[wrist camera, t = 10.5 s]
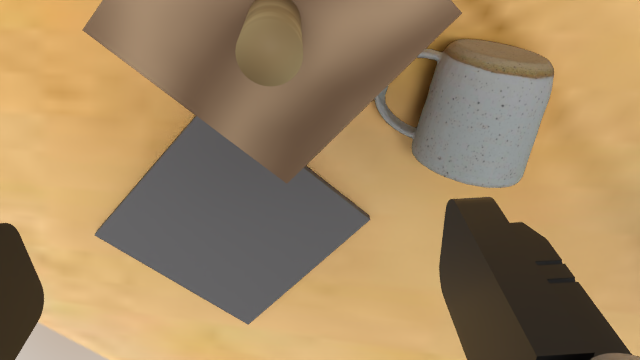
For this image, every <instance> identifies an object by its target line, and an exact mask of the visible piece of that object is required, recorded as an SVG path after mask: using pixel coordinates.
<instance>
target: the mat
mask: <svg viewBox="0 0 640 360" xmlns="http://www.w3.org/2000/svg"><path fill="white" fill-rule="evenodd" d="M369 220H370V217H369V215H368V214H367V213H365V212H364V211H363V210H361V209H360V208H359V207H358V206H356V205H355V204H354V203H353V202H351V201H350V200H349V199H347V198H346V197H345V196H344V195H342V194H341V193H340V192H339V191H337V190H336V189H335V188H333V187H332V186H331V185H330V184H328V183H327V182H326V181H324V180H323V179H322V178H321V177H319V176H318V175H317V174H316V173H314V172H313V171H312V170H310V169H309V168H308V167H307V166H305V167H304V168H303V169H302V170H301V171H300V172H299V173H298V174H297V175H296V176H295V177H294V178H292V179H291V180H290V181H289V182H288V183H287V184H286V183H285V182H284V181H282V180H281V179H280V178H278V177H277V176H276V175H274V174H273V173H272V172H271V171H269V170H268V169H267V168H265V167H264V166H263V165H261V164H260V163H259V162H257V161H256V160H255V159H253V158H252V157H251V156H249V155H248V154H247V153H245V152H244V151H243V150H241V149H240V148H239V147H237V146H236V145H235V144H233V143H232V142H231V141H229V140H228V139H227V138H225V137H224V136H223V135H221V134H220V133H219V132H217V131H216V130H215V129H213V128H212V127H211V126H209V125H208V124H207V123H205V122H204V121H203V120H201V119H200V118H199V117H197V116H195V117H194V118H193V120H192V121H191V122H190V123H189V124H188V125H187V127H186V128H185V129H184V130H183V131H182V132H181V134H180V135H179V136H178V137H177V138H176V139H175V141H174V142H173V143H172V144H171V145H170V146H169V148H168V149H167V150H166V151H165V152H164V153H163V155H162V156H161V157H160V158H159V159H158V160H157V161H156V163H155V164H154V165H153V166H152V167H151V168H150V170H149V171H148V172H147V173H146V174H145V175H144V177H143V178H142V179H141V180H140V181H139V182H138V184H137V185H136V186H135V187H134V188H133V189H132V191H131V192H130V193H129V194H128V195H127V196H126V198H125V199H124V200H123V201H122V202H121V203H120V205H119V206H118V207H117V208H116V209H115V210H114V212H113V213H112V214H111V215H110V216H109V217H108V219H107V220H106V221H105V222H104V223H103V224H102V226H101V227H100V228H99V229H98V230H97V232H96V233H95V236H97V237H99V238H100V239H102V240H104V241H105V242H107V243H109V244H111V245H112V246H114V247H116V248H117V249H119V250H121V251H123V252H124V253H126V254H128V255H129V256H131V257H133V258H135V259H136V260H138V261H140V262H142V263H143V264H145V265H147V266H148V267H150V268H152V269H154V270H155V271H157V272H159V273H160V274H162V275H164V276H166V277H167V278H169V279H171V280H172V281H174V282H176V283H178V284H179V285H181V286H183V287H185V288H186V289H188V290H190V291H191V292H193V293H195V294H197V295H198V296H200V297H202V298H203V299H205V300H207V301H209V302H210V303H212V304H214V305H215V306H217V307H219V308H221V309H222V310H224V311H226V312H228V313H229V314H231V315H233V316H234V317H236V318H238V319H240V320H241V321H243V322H245V323H246V324H250V323H251V322H252V321H253V320H254V319H255V318H256V317H258V316H259V315H260V314H261V313H262V312H263V311H265V310H266V309H267V308H268V307H269V306H270V305H272V304H273V303H274V302H275V301H276V300H277V299H279V298H280V297H281V296H282V295H283V294H284V293H285V292H287V291H288V290H289V289H290V288H291V287H292V286H294V285H295V284H296V283H297V282H298V281H299V280H301V279H302V278H303V277H304V276H305V275H306V274H308V273H309V272H310V271H311V270H312V269H313V268H315V267H316V266H317V265H318V264H319V263H320V262H321V261H323V260H324V259H325V258H326V257H327V256H328V255H330V254H331V253H332V252H333V251H334V250H335V249H337V248H338V247H339V246H340V245H341V244H342V243H344V242H345V241H346V240H347V239H348V238H349V237H350V236H352V235H353V234H354V233H355V232H356V231H357V230H359V229H360V228H361V227H362V226H363V225H364V224H366V223H367V222H368V221H369Z"/></svg>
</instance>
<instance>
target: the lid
mask: <svg viewBox="0 0 640 360" xmlns="http://www.w3.org/2000/svg"><path fill="white" fill-rule="evenodd" d="M461 14H462V12H461V11H460V10H459V9H458V8H457V7H456V6H455V4H454V3H453V2H452V1H451V0H103V1H102V2H101V4H100V5H99V7H98V8H97V9H96V11H95V12H94V14H93V15H92V17H91V18H90V20H89V21H88V23H87V24H86V26H85V27H84V28H83V31H84V32H86V33H87V34H88V35H90V36H91V37H92V38H94V39H95V40H96V41H98V42H99V43H100V44H102V45H103V46H104V47H106V48H107V49H108V50H110V51H111V52H112V53H114V54H115V55H116V56H118V57H119V58H120V59H122V60H123V61H124V62H126V63H127V64H128V65H130V66H131V67H132V68H133V69H135V70H136V71H137V72H139V73H140V74H141V75H143V76H144V77H145V78H147V79H148V80H149V81H151V82H152V83H153V84H155V85H156V86H157V87H159V88H160V89H161V90H163V91H164V92H165V93H167V94H168V95H169V96H171V97H172V98H173V99H175V100H176V101H177V102H179V103H180V104H181V105H183V106H184V107H185V108H187V109H188V110H189V111H191V112H192V113H193V114H195V115H196V116H197V117H199V118H200V119H201V120H203V121H204V122H205V123H207V124H208V125H209V126H211V127H212V128H213V129H215V130H216V131H217V132H219V133H220V134H221V135H223V136H224V137H225V138H227V139H228V140H229V141H231V142H232V143H233V144H235V145H236V146H237V147H239V148H240V149H241V150H243V151H244V152H245V153H247V154H248V155H249V156H251V157H252V158H253V159H255V160H256V161H257V162H259V163H260V164H261V165H263V166H264V167H265V168H267V169H268V170H269V171H271V172H272V173H273V174H274V175H276V176H277V177H278V178H280V179H281V180H282V181H284V182H285V183H286V184H287V183H288V182H289V181H290V180H291V179H292V178H294V177H295V176H296V175H297V174H298V173H299V172H300V171H301V170H302V169H303V168H304V167H305V166H306V165H307V164H308V163H309V162H310V161H311V160H312V159H313V158H314V157H315V156H316V155H317V154H318V153H319V152H320V151H321V150H322V149H323V148H324V147H325V146H326V145H327V144H328V143H329V142H330V141H331V140H332V139H334V138H335V137H336V136H337V135H338V134H339V133H340V132H341V131H342V130H343V129H344V128H345V127H346V126H347V125H348V124H349V123H350V122H351V121H352V120H353V119H354V118H355V117H356V116H357V115H358V114H359V113H360V112H361V111H362V110H363V109H364V108H365V107H366V106H367V105H368V104H369V103H370V102H371V101H372V100H374V99H375V98H376V97H377V96H378V95H379V94H380V93H381V92H382V91H383V90H384V89H385V88H386V87H387V86H388V85H389V84H390V83H391V82H392V81H393V80H394V79H395V78H396V77H397V76H398V75H399V74H400V73H401V72H402V71H403V70H404V69H405V68H406V67H407V66H408V65H409V64H410V63H411V62H412V61H414V60H415V59H416V58H417V57H418V56H419V55H420V54H421V53H422V52H423V51H424V50H425V49H426V48H427V47H428V46H429V45H430V44H431V43H432V42H433V41H434V40H435V39H436V38H437V37H438V36H439V35H440V34H441V33H442V32H443V31H444V30H445V29H446V28H447V27H448V26H449V25H450V24H451V23H452V22H454V21H455V20H456V19H457V18H458V17H459V16H460V15H461Z"/></svg>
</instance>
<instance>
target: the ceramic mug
mask: <svg viewBox="0 0 640 360" xmlns="http://www.w3.org/2000/svg"><path fill="white" fill-rule="evenodd" d="M417 58H428V59H434V60H436V61H437V66H436V69H435V72H434V76H433V79H432V82H431V84H430V87H429V93H428V96H427V99H426V102H425V105H424V107H423V110H422V113H421V116H420V119H419V123H418V126H417V128H414V127H412V126H410V125H408V124H406V123H404V122H402V121H401V120H400V119H398V118H397V117H396V116H395V115H393V113H392V112H391V111H390V110H389V109H388V107H387V105H386V102H385V94H386V91H387V88H388V86H387V87H386V88H385V89H384V90H383V91H382V92H381V93H380V94H379V95H378V96H377V97H376V98H375V103H376V107H377V109H378V111H379V113H380V114H381V116H382V117H383V119H384V120H385V121H386V122H387V123H388V124H389V125H391V126H392V127H393V128H394V129H396V130H397V131H399V132H400V133H402V134H404V135H406V136H408V137H411V138H412V139H413V142H412V153H413V155H414V156H415V158H416V159H417V160H418V161H419V162H420V163H421V164H423V165H424V166H426V167H427V168H428V169H430V170H432V171H434V172H436V173H438V174H440V175H442V176H444V177H447V178H450V179H453V180H455V181H458V182H462V183H465V184H469V185H475V186H480V187H488V188H494V187H495V188H501V187H509V186H512V185H515V184H516V183H518V182H519V181H520V179H521V178H522V176H523V174H524V171H525V168H526V164H527V161H528V158H529V155H530V152H531V149H532V147H533V144H534V141H535V138H536V135H537V132H538V129H539V126H540V122H541V120H542V117H543V114H544V112H545V109H546V106H547V103H548V100H549V98H550V94H551V90H552V83H553V77H554V68H553V66H552V64H551V63H550V61H549V60H548V59H547V58H545V57H543V56H541V55H539V54H536V53H534V52H531V51H528V50H525V49H521V48H518V47H514V46H510V45H505V44H501V43H496V42H490V41H484V40H474V39H460V40H456V41H454V42H452V43H450V44H449V45H448V46H447V47H446V48H445V50H444V51H443V52H439V51H435V50H433V49H425V50H424V51H423V52H422V53H421V54H420V55H419V56H418V57H417Z"/></svg>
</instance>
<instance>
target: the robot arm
mask: <svg viewBox="0 0 640 360" xmlns="http://www.w3.org/2000/svg"><path fill="white" fill-rule="evenodd" d="M439 272H440V283H441V288H442V293H443V296H444V299H445V302H446V304H447V307H448V310H449V312H450V315H451V318H452V320H453V323H454V326H455V328H456V331H457V334H458V336H459V339H460V342H461V344H462V347H463V350H464V352H465V355H466V358H467V360H640V357H639V356H634V355H632V354H631V353H630V351H629V350H628V349H627V347H626V346H625V345H624V343H623V342H622V341H621V339H620V338H619V337H618V335H617V334H616V332H615V331H614V330H613V328H612V327H611V326H610V324H609V323H608V322H607V320H606V319H605V318H604V316H603V315H602V314H601V312H600V311H599V309H598V308H597V307H596V305H595V304H594V303H593V301H592V300H591V299H590V297H589V296H588V295H587V293H586V292H585V290H584V289H583V288H582V286H581V285H580V284H579V282H575V277H574V276H573V274H572V273H571V272H570V270H569V269H568V267H567V266H566V265H565V264H562V259H561V258H560V257H559V255H558V254H557V253H556V251H555V250H554V248H553V247H552V246H551V244H550V243H549V242H548V240H547V239H546V238H544V237H543V236H541V235H540V234H539V233H537V232H536V231H534V230H533V229H531V228H530V227H528V226H527V225H526V224H524V223H523V222H518V223H509V221H508V220H507V218H506V217H505V215H504V214H503V212H502V211H501V209H500V208H499V206H498V205H497V203H496V202H495V200H494V199H493V198H491V197H482V198H464V199H450V200H449V201H448V203H447V206H446V212H445V221H444V229H443V238H442V247H441V255H440V265H439ZM43 304H44V293H43V288H42V285H41V282H40V280H39V278H38V275H37V273H36V271H35V269H34V266H33V264H32V262H31V259H30V257H29V255H28V253H27V250H26V248H25V246H24V243H23V241H22V239H21V236H20V234H19V232H18V231H17V229H16V228H15V227H14V226H13V225H11V224H8V223H0V360H15V359H16V357H17V355H18V354H19V352H20V350H21V349H22V347H23V345H24V344H25V342H26V340H27V339H28V337H29V336H30V334H31V332H32V331H33V329H34V327H35V325H36V324H37V322H38V320H39V319H40V316H41V314H42V310H43Z"/></svg>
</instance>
